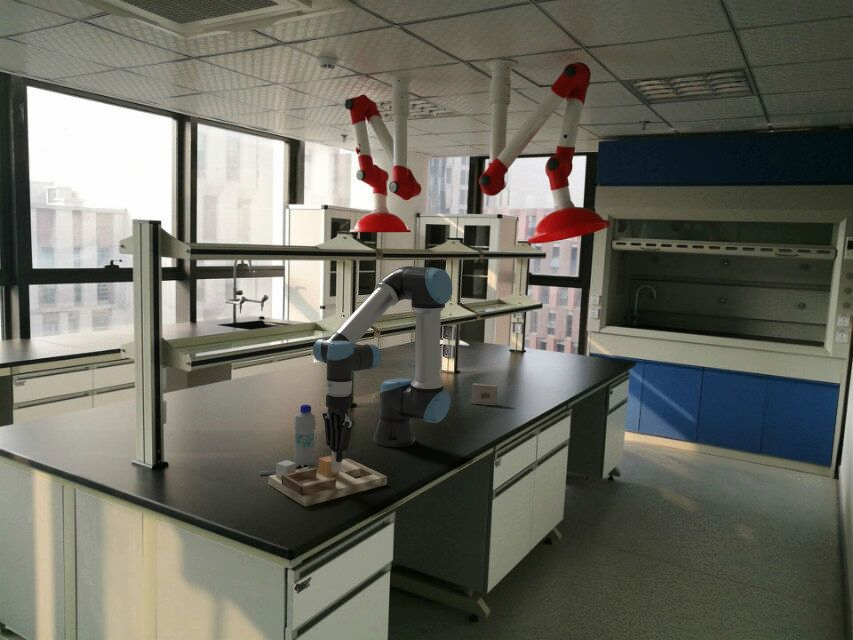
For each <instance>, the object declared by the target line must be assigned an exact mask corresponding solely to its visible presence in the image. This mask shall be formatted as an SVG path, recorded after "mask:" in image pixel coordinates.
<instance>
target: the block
mask: <svg viewBox="0 0 853 640" xmlns="http://www.w3.org/2000/svg"><path fill="white" fill-rule="evenodd" d="M275 465H276V467H275V468H276V469H275V470H276V477H279V478H282V475H286V474H290V473H294V472H296V470H297V466H296V463H295V462H294V461H291V460H288V459H285V460H282V461H279V462H277V463H276V464H275Z"/></svg>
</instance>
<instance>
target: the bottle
mask: <svg viewBox="0 0 853 640" xmlns="http://www.w3.org/2000/svg"><path fill="white" fill-rule="evenodd" d="M299 410H300V412H298V413H296V414H295V418H294V431H295V433H294V434H295V435H294V453H293V462H295V463H296V468H300V467H301V469H302V468H305V467H310V466H314V465H313V464H314V462H315V461H314V460H315V450H314V449H315V447H314V443H315V430H316V426H317V425H316V415H315V414H314V413H312V406H311V404H302V405H300V408H299Z"/></svg>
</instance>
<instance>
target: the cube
mask: <svg viewBox="0 0 853 640" xmlns="http://www.w3.org/2000/svg"><path fill="white" fill-rule="evenodd" d="M317 465H318V473H320V474H322V475H324V476H326V477H329V476H333V475H337V474H339V472H336V473H333V472H331V455H327V456H323V457H319V458H318V464H317Z"/></svg>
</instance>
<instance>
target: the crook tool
mask: <svg viewBox="0 0 853 640" xmlns="http://www.w3.org/2000/svg"><path fill="white" fill-rule="evenodd" d="M271 475H276V469H273V470H260V471H259V476H271Z"/></svg>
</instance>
